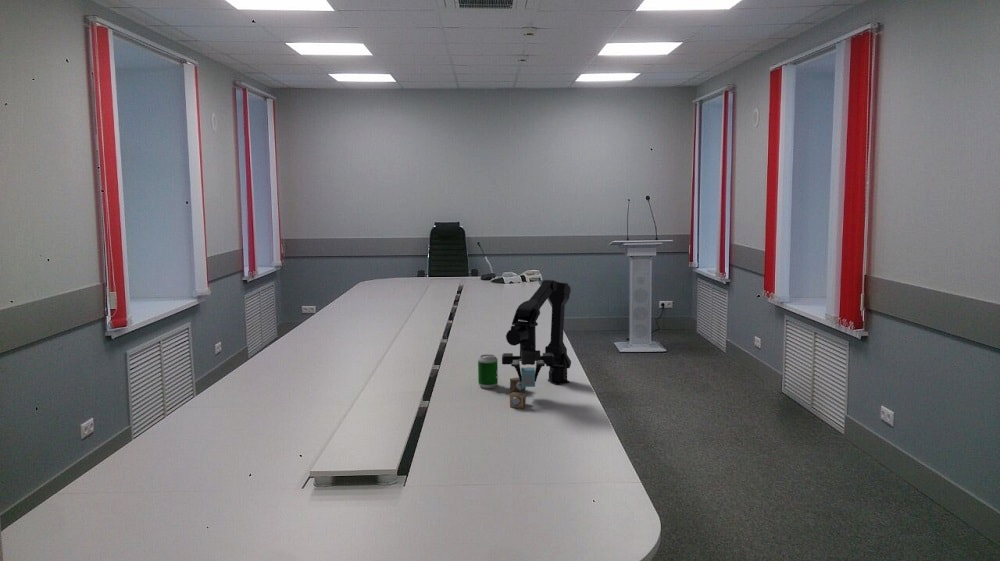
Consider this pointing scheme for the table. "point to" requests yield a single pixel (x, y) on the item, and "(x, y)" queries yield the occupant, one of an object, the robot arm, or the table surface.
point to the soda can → (487, 371)
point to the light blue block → (528, 376)
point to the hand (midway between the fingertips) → (528, 381)
